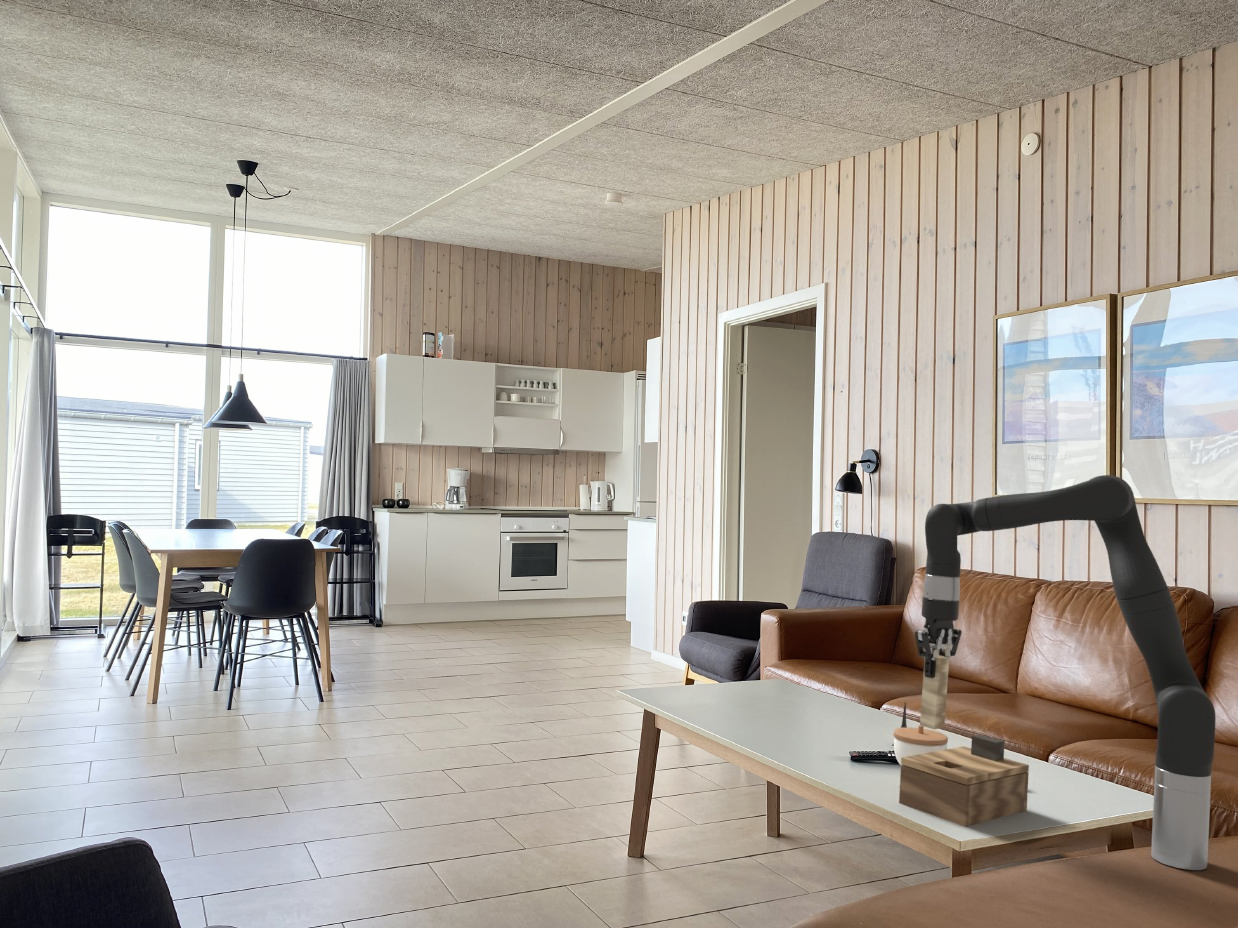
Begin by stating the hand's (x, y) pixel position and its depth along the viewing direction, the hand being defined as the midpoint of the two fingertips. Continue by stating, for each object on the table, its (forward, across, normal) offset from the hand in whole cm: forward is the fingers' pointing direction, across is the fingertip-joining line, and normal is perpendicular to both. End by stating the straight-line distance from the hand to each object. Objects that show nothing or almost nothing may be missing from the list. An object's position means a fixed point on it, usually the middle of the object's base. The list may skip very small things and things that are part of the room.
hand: (935, 676), depth 211 cm
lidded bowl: (+28, -22, -18) cm, 41 cm away
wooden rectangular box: (+28, -5, +5) cm, 29 cm away
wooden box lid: (+19, -5, +5) cm, 20 cm away
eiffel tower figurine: (+29, -39, -35) cm, 60 cm away
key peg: (+11, 0, 0) cm, 11 cm away
